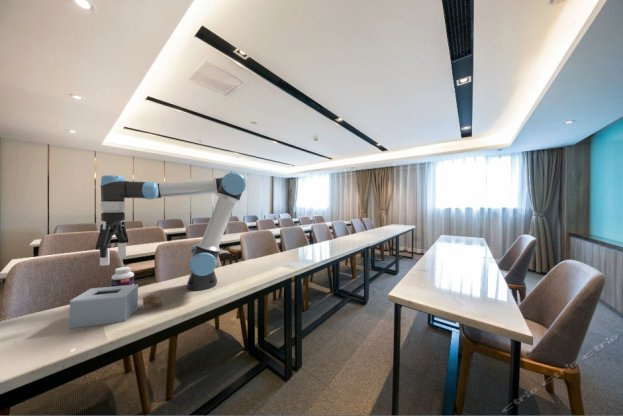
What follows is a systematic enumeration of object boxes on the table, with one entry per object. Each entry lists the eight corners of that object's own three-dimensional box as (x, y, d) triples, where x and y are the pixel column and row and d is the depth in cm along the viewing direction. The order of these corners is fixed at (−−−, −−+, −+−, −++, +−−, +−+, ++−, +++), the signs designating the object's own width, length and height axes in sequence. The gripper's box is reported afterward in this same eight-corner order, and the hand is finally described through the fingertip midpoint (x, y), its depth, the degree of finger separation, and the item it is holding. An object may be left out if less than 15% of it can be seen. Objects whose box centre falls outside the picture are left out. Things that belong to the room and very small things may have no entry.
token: (161, 305, 96) (161, 294, 96) (159, 307, 94) (159, 296, 94) (145, 307, 94) (145, 295, 94) (143, 309, 92) (143, 298, 92)
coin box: (137, 307, 94) (138, 284, 94) (124, 321, 83) (125, 295, 82) (90, 312, 88) (90, 288, 88) (69, 328, 77) (70, 300, 77)
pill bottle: (120, 303, 97) (120, 271, 97) (106, 301, 99) (106, 270, 98) (138, 296, 105) (138, 266, 105) (124, 294, 106) (125, 265, 106)
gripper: (117, 210, 103) (118, 255, 103) (82, 213, 79) (83, 270, 80) (136, 210, 105) (137, 253, 106) (107, 212, 82) (108, 268, 82)
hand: (113, 261), depth 93 cm, fingers open, 13 cm apart
